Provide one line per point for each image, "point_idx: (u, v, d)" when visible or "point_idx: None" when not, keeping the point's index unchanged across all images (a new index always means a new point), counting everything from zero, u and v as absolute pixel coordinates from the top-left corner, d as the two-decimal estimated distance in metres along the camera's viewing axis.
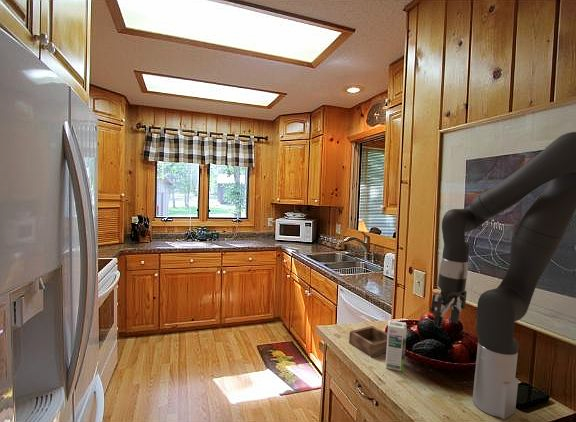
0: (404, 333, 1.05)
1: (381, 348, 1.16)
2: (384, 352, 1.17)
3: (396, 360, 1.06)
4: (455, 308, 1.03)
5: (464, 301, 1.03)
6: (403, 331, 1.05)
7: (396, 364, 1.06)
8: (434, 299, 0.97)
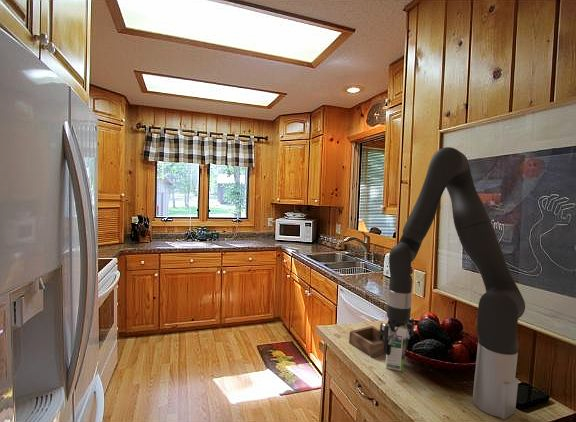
0: (404, 333, 1.05)
1: (381, 348, 1.16)
2: None
3: (396, 360, 1.06)
4: None
5: (412, 328, 1.11)
6: (403, 331, 1.05)
7: (396, 364, 1.06)
8: (381, 328, 1.05)
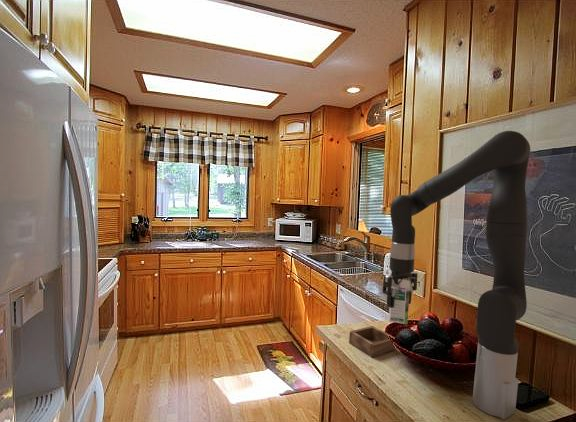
0: (407, 285, 1.04)
1: (381, 348, 1.16)
2: (384, 352, 1.17)
3: (399, 313, 1.05)
4: None
5: (416, 283, 1.10)
6: (407, 283, 1.04)
7: (400, 317, 1.05)
8: (385, 280, 1.04)
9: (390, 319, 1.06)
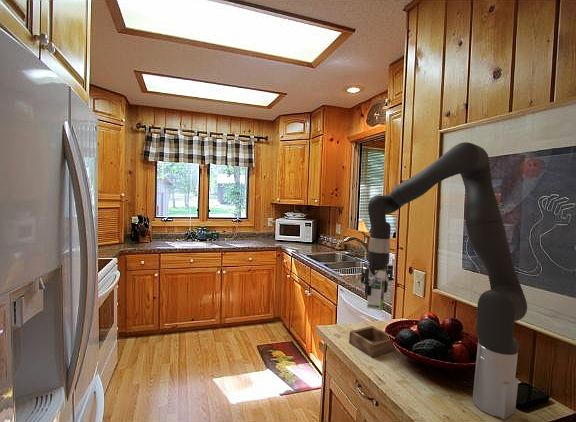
0: (383, 275, 1.17)
1: (381, 348, 1.16)
2: (384, 352, 1.17)
3: (376, 301, 1.18)
4: None
5: (391, 274, 1.22)
6: (382, 273, 1.17)
7: (376, 304, 1.18)
8: (362, 271, 1.17)
9: (367, 306, 1.19)
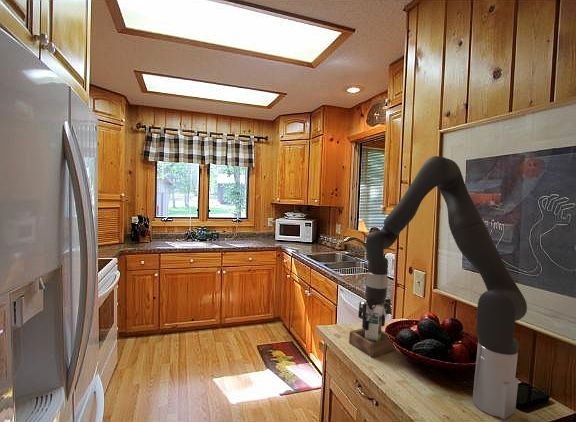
0: (380, 310, 1.18)
1: (381, 348, 1.16)
2: (384, 352, 1.17)
3: (373, 335, 1.19)
4: None
5: (389, 307, 1.23)
6: (380, 309, 1.18)
7: (373, 338, 1.19)
8: (360, 306, 1.18)
9: None
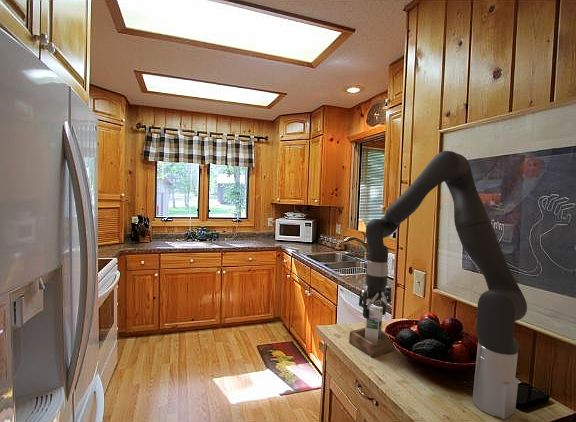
0: (380, 316, 1.18)
1: (381, 348, 1.16)
2: (384, 352, 1.17)
3: (373, 340, 1.19)
4: (382, 302, 1.23)
5: (390, 296, 1.23)
6: (379, 314, 1.18)
7: None
8: (361, 294, 1.17)
9: None
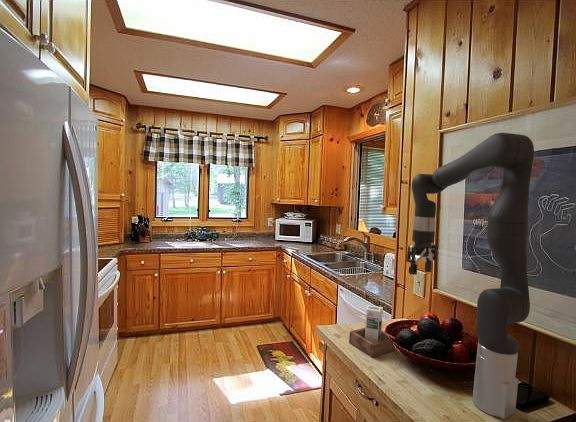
0: (380, 316, 1.18)
1: (381, 348, 1.16)
2: (384, 352, 1.17)
3: (373, 340, 1.19)
4: (428, 259, 1.22)
5: (435, 253, 1.22)
6: (379, 314, 1.18)
7: None
8: (409, 249, 1.16)
9: None
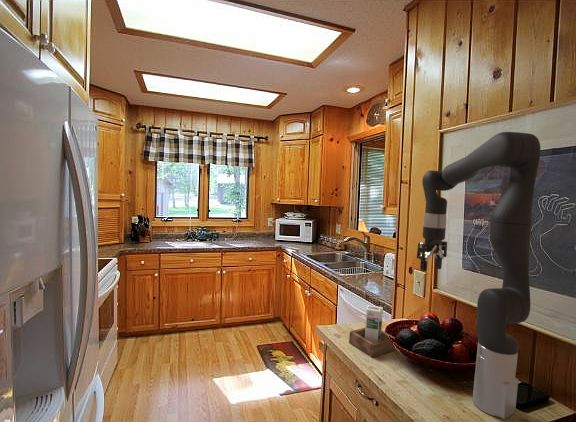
0: (380, 316, 1.18)
1: (381, 348, 1.16)
2: (384, 352, 1.17)
3: (373, 340, 1.19)
4: (438, 256, 1.22)
5: (446, 250, 1.22)
6: (379, 314, 1.18)
7: None
8: (419, 246, 1.16)
9: None
